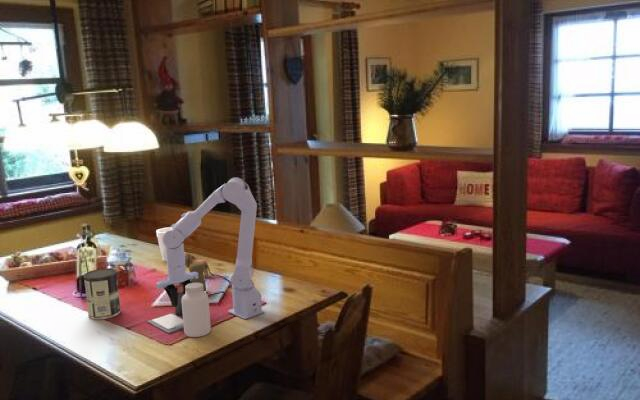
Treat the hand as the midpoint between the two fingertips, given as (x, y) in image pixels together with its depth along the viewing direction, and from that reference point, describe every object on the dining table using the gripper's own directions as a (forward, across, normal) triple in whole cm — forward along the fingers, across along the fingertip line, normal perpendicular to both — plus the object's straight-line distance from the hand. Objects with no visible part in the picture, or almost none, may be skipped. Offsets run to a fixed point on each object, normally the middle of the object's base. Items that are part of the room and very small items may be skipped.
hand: (179, 304), depth 188 cm
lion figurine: (+3, -25, -29) cm, 38 cm away
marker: (+3, 0, 0) cm, 3 cm away
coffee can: (+3, +17, -19) cm, 26 cm away
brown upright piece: (+3, -15, -12) cm, 20 cm away
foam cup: (+3, -30, -57) cm, 64 cm away
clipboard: (+3, +6, +5) cm, 9 cm away
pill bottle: (+3, +4, +17) cm, 18 cm away
